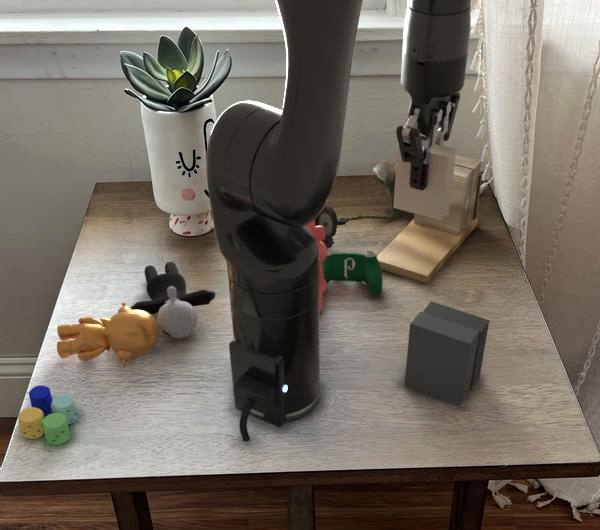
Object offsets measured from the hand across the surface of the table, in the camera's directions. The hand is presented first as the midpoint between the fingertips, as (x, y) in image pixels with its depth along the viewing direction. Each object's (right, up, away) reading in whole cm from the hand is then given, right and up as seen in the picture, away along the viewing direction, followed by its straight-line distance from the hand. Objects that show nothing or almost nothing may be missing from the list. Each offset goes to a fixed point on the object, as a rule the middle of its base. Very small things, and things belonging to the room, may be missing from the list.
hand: (423, 182), depth 107 cm
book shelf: (+2, -6, +10) cm, 12 cm away
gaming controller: (-10, -13, +3) cm, 16 cm away
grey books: (0, -26, -11) cm, 29 cm away
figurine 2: (-32, -17, -1) cm, 37 cm away
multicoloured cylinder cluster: (-41, -29, -15) cm, 52 cm away
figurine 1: (-45, -21, -8) cm, 50 cm away
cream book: (0, -3, +3) cm, 4 cm away
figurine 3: (-15, -16, 0) cm, 22 cm away
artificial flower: (-6, -1, +16) cm, 17 cm away
